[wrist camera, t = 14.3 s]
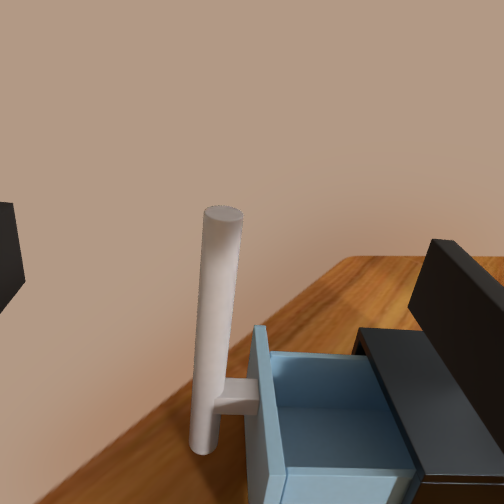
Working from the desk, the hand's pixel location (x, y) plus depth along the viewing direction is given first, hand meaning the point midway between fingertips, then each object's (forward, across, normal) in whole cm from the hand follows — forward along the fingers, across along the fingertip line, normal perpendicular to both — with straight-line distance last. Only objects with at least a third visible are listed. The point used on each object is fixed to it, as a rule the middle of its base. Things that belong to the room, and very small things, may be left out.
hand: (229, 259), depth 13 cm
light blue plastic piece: (+10, +9, -24) cm, 27 cm away
